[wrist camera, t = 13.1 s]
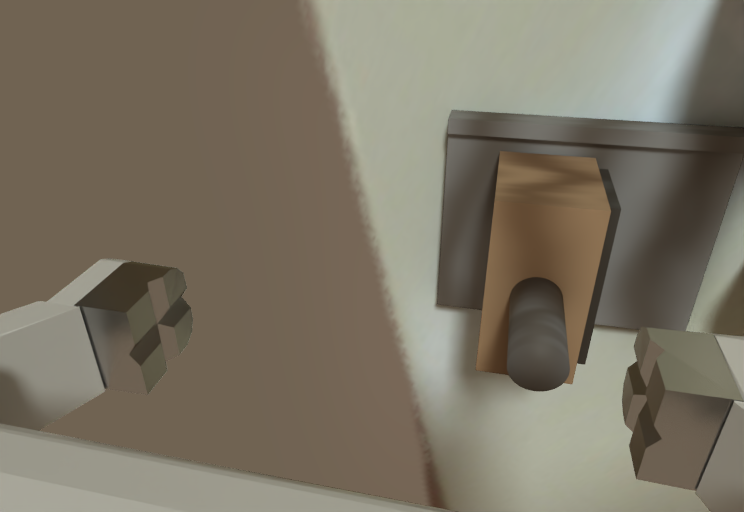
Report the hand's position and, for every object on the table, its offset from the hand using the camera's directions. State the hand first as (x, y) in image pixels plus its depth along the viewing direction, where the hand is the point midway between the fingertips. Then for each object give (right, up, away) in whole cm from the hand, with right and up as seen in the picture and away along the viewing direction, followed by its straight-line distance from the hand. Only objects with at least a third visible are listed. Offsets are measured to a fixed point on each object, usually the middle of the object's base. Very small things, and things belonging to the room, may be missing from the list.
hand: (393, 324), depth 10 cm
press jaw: (+11, +3, +30) cm, 32 cm away
